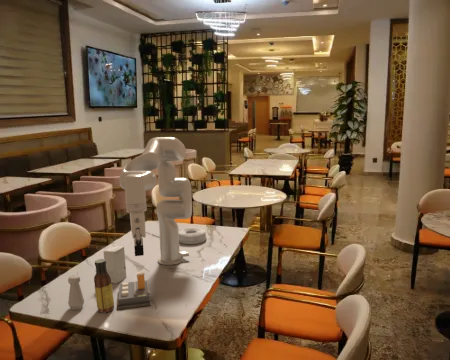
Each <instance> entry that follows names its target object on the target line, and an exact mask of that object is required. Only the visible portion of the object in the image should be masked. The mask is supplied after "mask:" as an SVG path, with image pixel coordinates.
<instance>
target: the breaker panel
mask: <svg viewBox="0 0 450 360" xmlns="http://www.w3.org/2000/svg"><path fill="white" fill-rule="evenodd" d="M149 283H150V282H149V280H147V279H145V288H144V289H138V280H137V281H136V280H135V281H128V282H121V283H120V282H119V289H118V305H124V304H132V303H140V302H148V301H150V302H151V296H150V295H151V294H150V285H149Z"/></svg>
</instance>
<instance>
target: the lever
mask: <svg viewBox="0 0 450 360" xmlns="http://www.w3.org/2000/svg"><path fill="white" fill-rule="evenodd" d="M136 276H137V281H138V289H144V288H145V280H146V279H145V271H144V270H143V271H137V272H136Z"/></svg>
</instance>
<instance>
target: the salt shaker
mask: <svg viewBox="0 0 450 360" xmlns="http://www.w3.org/2000/svg"><path fill="white" fill-rule="evenodd" d="M80 281H81V276H80V275H78V274H75V275H74V274H72V275H71V276H69V277H68V279H67V283H68V284H70V285H69V293H68V294H69V295H68V302H67V303H68V306H69V308H70V310H71V311H75V312H76V311H78V310H81V309H82V308H83V307H84V304H85V298H84V295H83V292H82V289H81V285H80Z"/></svg>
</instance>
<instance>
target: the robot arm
mask: <svg viewBox="0 0 450 360" xmlns="http://www.w3.org/2000/svg"><path fill="white" fill-rule="evenodd" d="M186 156H187V150H186V146H185V145H184V143H183V142H182V141H181V140H180V139H178V138H177V137H172V136H164V137H163V136H160V137H159V136H156V137H152V138H150V139H149V140H148V142H147V143H146V145H145V148H144V150H143V152H142V154H140V155H139V156H136V157H134V158H133V159H131V160H129V161H128V162H127V163H125V165H124V166H123V168H122V170H121V171H120V174H119V177H118V183H119V186H120V187H121V189H123V190H124V193H125V198H124V199H125V209H126V211H125V212H126V213H127V214H129V220H130V229H131V236H132V239H133V241H134V242H133V243H134V247H133V248H134V256H135V257H141V256H144V254H145V253H144V251H145V250H144V241H143V238H146V236H147V234H146V217H145V212H146V211H147V210H148V209H147V193H146V191H150V190H153V189H154V188H155V187H156V185H157V182H158V192H159V195H160V196H161V197H164V198H180V199H162V200H160V201H158V202H157V203H156V207H155V209H156V210H155V211H156V214H157V215H156V216H157V219H158V228H159V230H158V231H159V247H160V248H159V249H160V250H159V251H160V256H159V257H158V258H157V263H158V264H160V265H163V266H173V265H174V266H175V265H178V264H180V263H182V262H183V260H184V257H190V253H189V252H188V251H187V252H186V251H181V250H180V242H179V229H180V228H179V225H178V222H176V220H188V219H190V218H191V217H192V215H193V201H192V195H193V194H192V184H191V180H189V178H185V177H177V176H176V166H175V164H174V163H173V162H182V161H184V160H185V158H186ZM156 169H157V175H158V177H157V175H156V174H155V172H154V170H156Z"/></svg>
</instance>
